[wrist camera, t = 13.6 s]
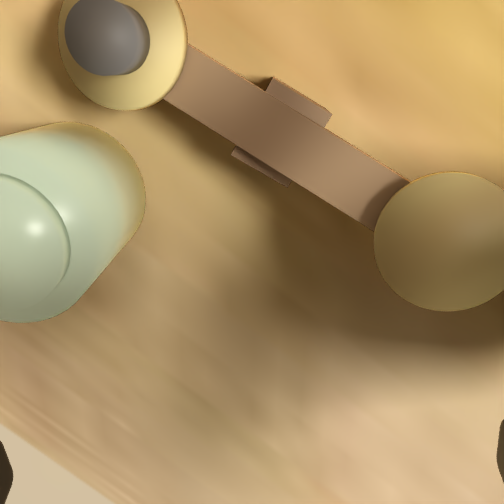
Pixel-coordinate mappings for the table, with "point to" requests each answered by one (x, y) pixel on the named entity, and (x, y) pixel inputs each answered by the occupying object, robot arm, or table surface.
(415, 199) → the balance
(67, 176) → the sage cup
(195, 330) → the table surface
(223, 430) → the table surface
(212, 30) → the table surface
